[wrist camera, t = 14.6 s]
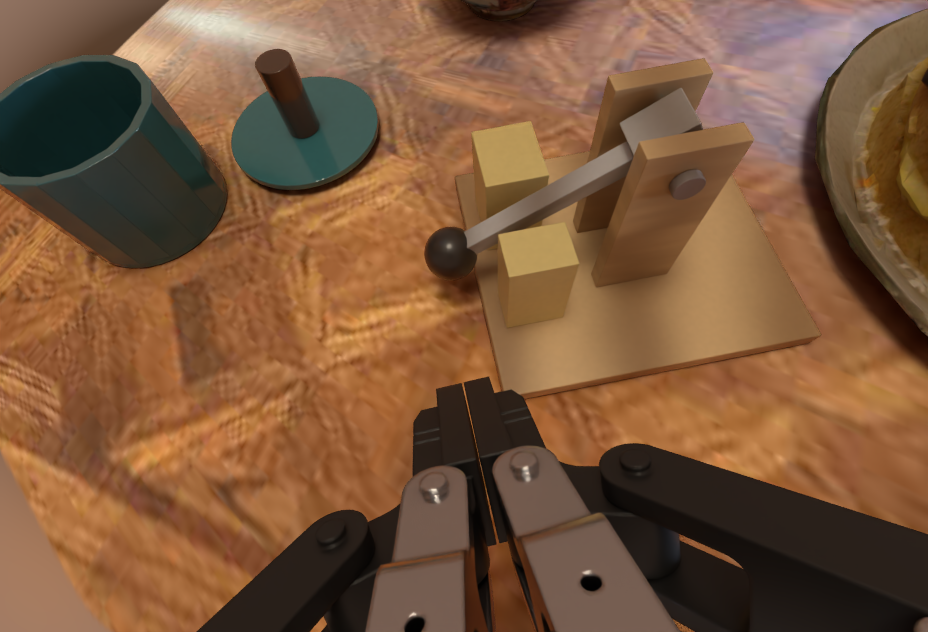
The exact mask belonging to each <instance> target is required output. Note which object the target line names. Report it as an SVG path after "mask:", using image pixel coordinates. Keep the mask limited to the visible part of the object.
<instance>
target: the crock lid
mask: <svg viewBox="0 0 928 632" xmlns="http://www.w3.org/2000/svg"><path fill="white" fill-rule="evenodd" d="M255 67H256V69H257V71H258V73H259V75H260V77H261V79H262V81H263V83H264V85H265V87H266V89H267V92H265V93H263V94H262V95H260V96H259V97H258V98H257V99H255V100H254V101H253V102H252V103H251V104H250V105H249V106H248V107H247V108H246V109H245V110H244V111H243V113H242V114H241V115H240V117H239V119H238V120H237V122H236V124H235V127H234V130H233V133H232V140H231V144H232V152H233V155H234V158H235V160H236V162H237V163H238V165H239V166H240V168H241V169H242V170H243V172H244V173H245V174H246V175H247V176H249V177H250V178H251V179H253V180H254V181H256V182H258V183H260V184H262V185H265V186H268V187H271V188H277V189H284V190H300V189H308V188H313V187H317V186H321V185H323V184H326V183H329V182H331V181H334V180H336V179H338V178H340V177H342V176H343V175H345V174H347V173H348V172H350V171H351V170H352V169H354V168H355V167H356V166H357V165H358V164H359V163H360V162H362V160H363V159H364V158H365V157H366V156H367V155H368V153H369V152H370V150H371V149H372V147H373V145H374V143H375V141H376V138H377V134H378V128H379V119H378V114H377V111H376V107H375V105H374V103H373V101H372V100H371V98H370V97H369V96H368V95H367V93H366V92H365V91H363V90H362V89H361V88H359V87H358V86H356V85H354V84H353V83H350V82H348V81H345V80H342V79H338V78H332V77H307V78H300V76H299V73H298V71H297V69H296V66H295V64H294V62H293V59H292V57H291V55H290V54H289V53H288V52H287V51H285V50H282V49H273V50H269V51H266V52H264V53H263V54H261V55H260V56H259V57H258V58H257V60H256V62H255Z"/></svg>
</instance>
